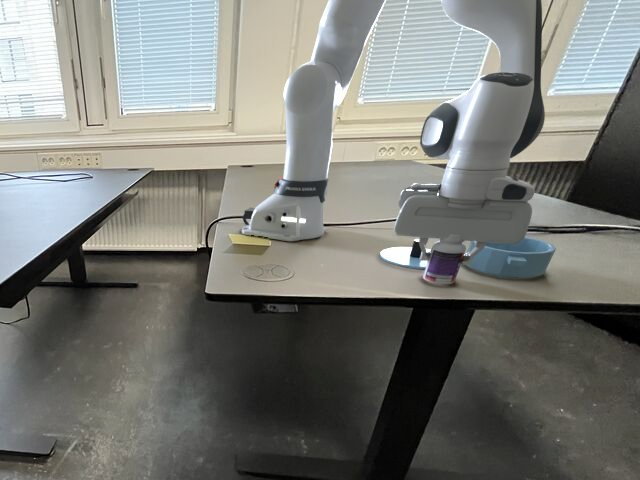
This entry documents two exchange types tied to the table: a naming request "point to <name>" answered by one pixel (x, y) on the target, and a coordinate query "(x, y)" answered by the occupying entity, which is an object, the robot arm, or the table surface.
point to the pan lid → (405, 256)
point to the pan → (513, 258)
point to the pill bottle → (445, 260)
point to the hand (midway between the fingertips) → (444, 261)
